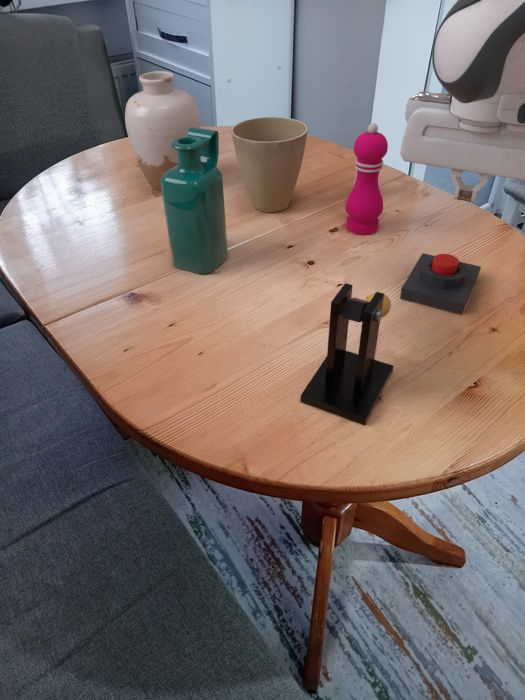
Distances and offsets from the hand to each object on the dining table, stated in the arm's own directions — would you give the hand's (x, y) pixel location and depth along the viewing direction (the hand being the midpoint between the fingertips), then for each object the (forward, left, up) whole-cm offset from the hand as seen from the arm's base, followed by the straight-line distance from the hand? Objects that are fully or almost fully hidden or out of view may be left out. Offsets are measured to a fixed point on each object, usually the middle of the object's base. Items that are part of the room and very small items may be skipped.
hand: (464, 199), depth 78 cm
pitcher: (+42, +9, -17) cm, 46 cm away
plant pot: (+41, -16, -17) cm, 47 cm away
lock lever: (+6, +24, -8) cm, 26 cm away
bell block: (+1, -1, -17) cm, 17 cm away
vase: (+67, -16, -17) cm, 71 cm away
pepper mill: (+20, -15, -17) cm, 30 cm away
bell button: (+1, -1, -13) cm, 13 cm away
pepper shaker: (+25, -29, -17) cm, 42 cm away
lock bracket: (+6, +28, -17) cm, 33 cm away
